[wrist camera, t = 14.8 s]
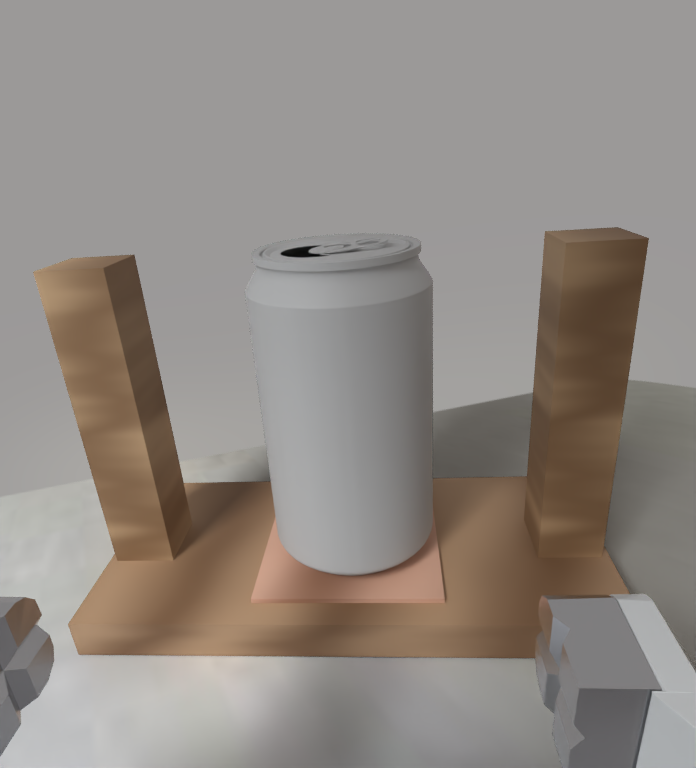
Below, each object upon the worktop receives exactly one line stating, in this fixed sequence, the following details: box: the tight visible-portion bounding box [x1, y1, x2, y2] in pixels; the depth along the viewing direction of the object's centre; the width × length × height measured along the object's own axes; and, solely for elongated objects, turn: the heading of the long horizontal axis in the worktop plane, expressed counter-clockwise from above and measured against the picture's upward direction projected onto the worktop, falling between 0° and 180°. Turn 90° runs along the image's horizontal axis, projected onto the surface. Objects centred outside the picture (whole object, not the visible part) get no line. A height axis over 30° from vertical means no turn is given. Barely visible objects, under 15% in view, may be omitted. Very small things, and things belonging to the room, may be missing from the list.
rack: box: [33, 227, 649, 658], centre depth 21 cm, size 20×9×14 cm, turn 86°
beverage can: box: [245, 233, 433, 576], centre depth 21 cm, size 6×6×12 cm
